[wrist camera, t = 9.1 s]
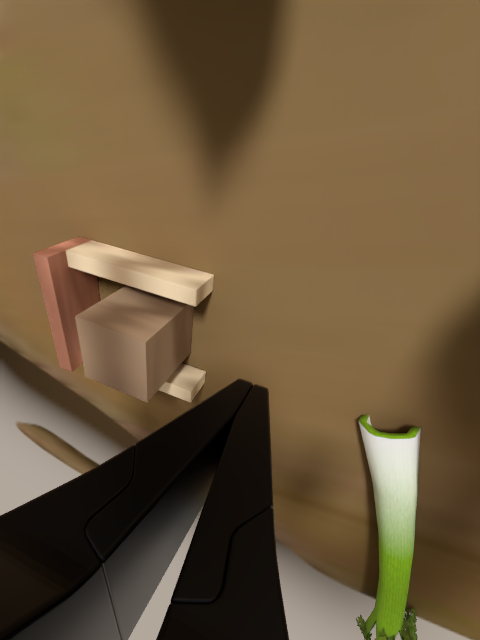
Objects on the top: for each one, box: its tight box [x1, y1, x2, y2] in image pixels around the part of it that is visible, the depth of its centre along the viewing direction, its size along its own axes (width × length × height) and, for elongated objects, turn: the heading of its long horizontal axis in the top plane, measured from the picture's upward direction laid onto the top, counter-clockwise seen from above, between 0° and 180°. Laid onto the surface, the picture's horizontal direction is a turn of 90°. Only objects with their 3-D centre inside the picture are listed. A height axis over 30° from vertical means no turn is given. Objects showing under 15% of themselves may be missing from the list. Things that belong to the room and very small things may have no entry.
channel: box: [33, 237, 214, 403], centre depth 24 cm, size 11×10×4 cm
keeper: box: [75, 285, 194, 403], centre depth 23 cm, size 5×5×6 cm
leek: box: [356, 415, 421, 640], centre depth 27 cm, size 6×7×30 cm
